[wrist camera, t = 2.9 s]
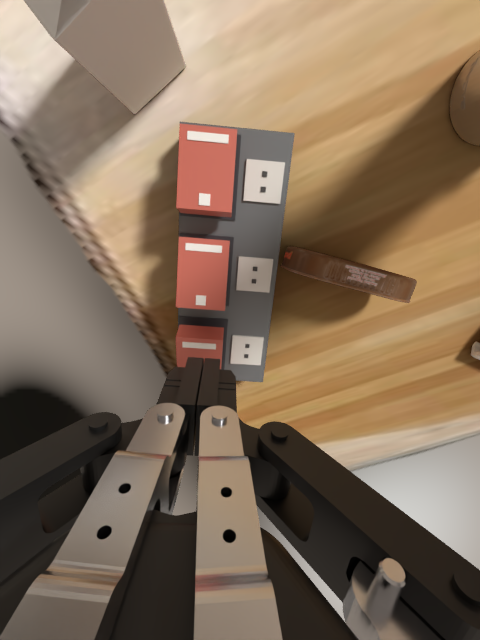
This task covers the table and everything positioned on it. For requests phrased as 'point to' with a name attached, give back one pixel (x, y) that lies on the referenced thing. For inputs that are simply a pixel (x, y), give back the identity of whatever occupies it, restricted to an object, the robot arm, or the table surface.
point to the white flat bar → (476, 350)
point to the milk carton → (117, 43)
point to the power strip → (247, 249)
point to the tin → (348, 274)
